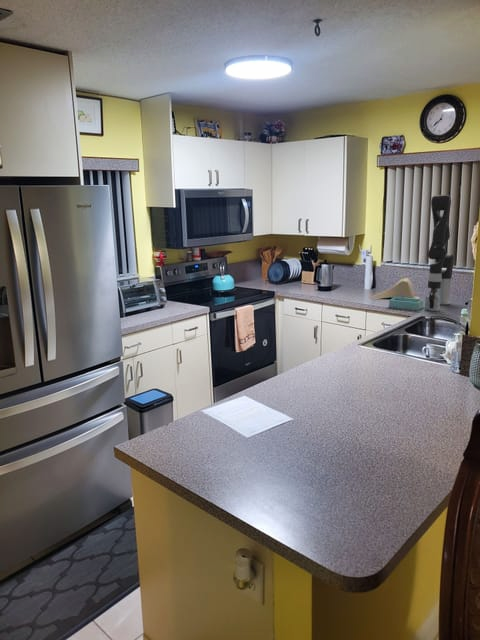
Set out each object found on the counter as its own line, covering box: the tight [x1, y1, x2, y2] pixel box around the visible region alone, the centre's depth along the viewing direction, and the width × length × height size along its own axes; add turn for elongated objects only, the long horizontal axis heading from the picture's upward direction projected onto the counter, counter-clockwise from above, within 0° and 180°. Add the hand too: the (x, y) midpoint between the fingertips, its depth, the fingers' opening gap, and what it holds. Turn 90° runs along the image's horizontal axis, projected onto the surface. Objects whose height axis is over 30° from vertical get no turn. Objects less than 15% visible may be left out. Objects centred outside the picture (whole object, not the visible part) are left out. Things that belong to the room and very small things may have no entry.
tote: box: [388, 296, 425, 312], centre depth 314 cm, size 15×18×5 cm
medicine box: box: [424, 295, 441, 312], centre depth 305 cm, size 8×4×9 cm, turn 48°
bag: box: [368, 277, 421, 300], centre depth 347 cm, size 19×17×35 cm
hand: (432, 307), depth 306 cm, fingers closed on medicine box, 5 cm apart
